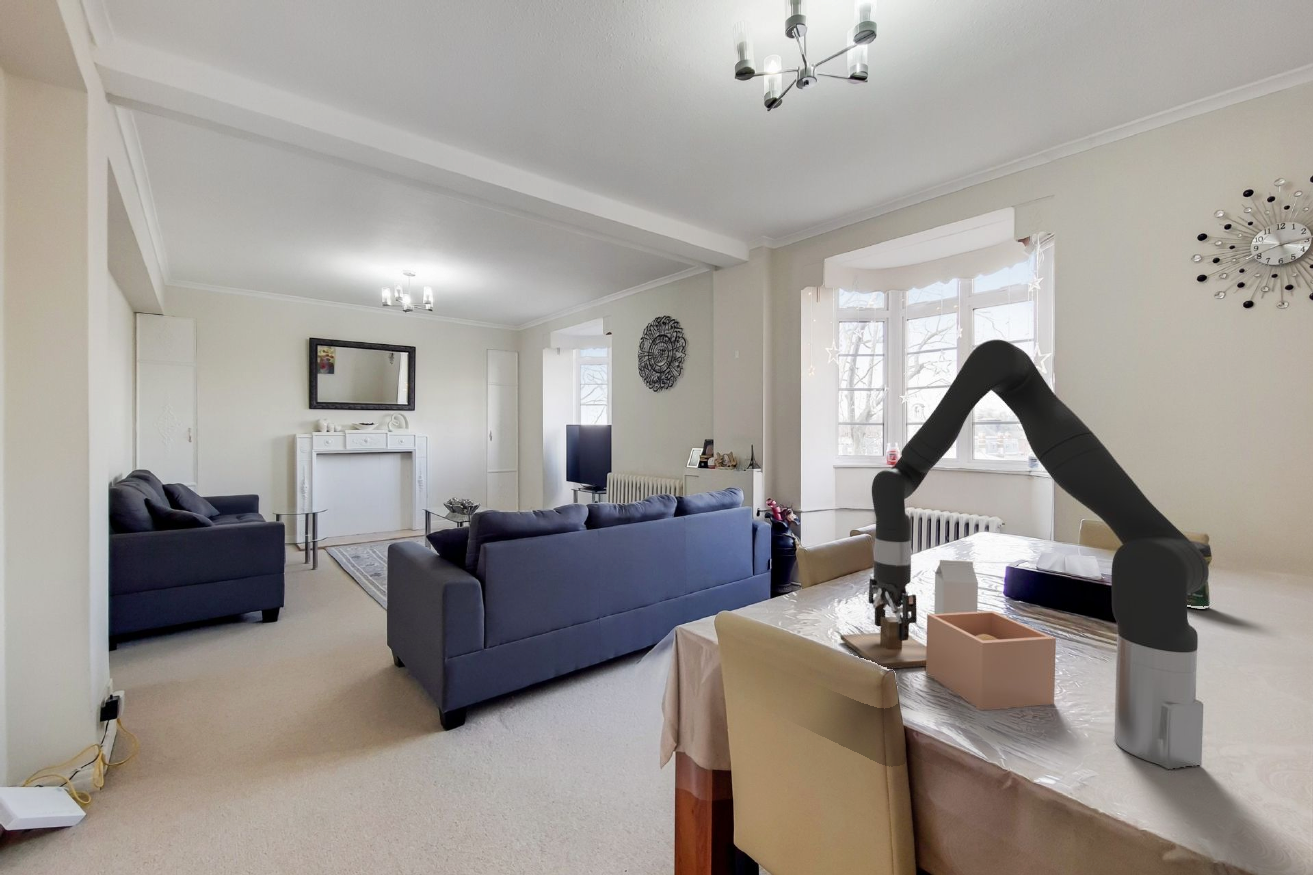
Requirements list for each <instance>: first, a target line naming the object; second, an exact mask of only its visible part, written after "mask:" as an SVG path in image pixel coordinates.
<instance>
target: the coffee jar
mask: <svg viewBox="0 0 1313 875" xmlns="http://www.w3.org/2000/svg"><path fill="white" fill-rule="evenodd" d="M1190 541H1191V542H1192V543H1193V544H1194V545H1195V546H1196V547H1197V548H1198V549H1199V551H1200V552H1201V553H1202V554H1203V556H1204V558H1205V560H1206V562H1207V565H1208V567H1209V566H1210V564H1211V562H1212V560H1213V556H1212V550H1211V549H1212V548H1211V546H1210V544H1209V543H1207V542H1206V543H1205V542H1200V541H1194V540H1190ZM1209 585H1210V584H1209V579H1208V580H1207V582H1206V583H1205V585H1204V586H1203V587H1202V588H1201V589H1199V590H1198V591H1195V592H1193V593H1190V594H1187V605H1191V606H1203V607H1204V606H1209V605H1210V603H1211V602H1210V601H1211V600H1210V599H1211V598H1210V588H1209ZM1209 607H1210V606H1209Z"/></svg>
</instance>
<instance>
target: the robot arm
mask: <svg viewBox="0 0 1313 875" xmlns="http://www.w3.org/2000/svg"><path fill="white" fill-rule="evenodd" d="M989 392H992V393H994V394H995V395H996V396H998V397H999V398H1000V399H1001V401H1003V402H1004V403H1005V405H1006V406H1007V407H1008V408H1009V409H1010V410H1011V411H1012V413H1013V414H1014V415H1015V417H1016V418H1017V419H1018V421H1019V423H1020V425H1021V427H1022V429H1023V432H1024V435H1025V437H1026V439H1027V440H1026V441H1027V443H1028V444H1029V447H1030V449H1031V450H1032V452H1033V454H1034V455H1035V457H1036V459H1037V460H1038V462H1040V464H1041V465H1042V466H1043V468H1044V469H1045V470H1046V472H1047V473H1048V475H1049V476H1050V477H1051V478H1052V480H1053V481H1054V482H1055V483H1056V484H1057V485H1058V486H1059V487H1060V488H1061V489H1062V490H1063V491H1064V492H1066V493H1067V494H1068V495H1069V496H1070V497H1072V498H1073V499H1075V500H1076V501H1077V502H1079V503H1080V504H1081V505H1083V507H1084V506H1085V508H1087V509H1088V510H1090V511H1091V512H1092V513H1093V514H1095V515H1096V516H1097V517H1099V518H1100V519H1101V520H1102V521H1103V522H1104V523H1105V524H1106V525H1107V526H1108V527H1109V528H1110V530H1111V531H1112V532H1113V534H1115V536H1116V537H1117V538H1118V540H1119V541H1120V542H1121V545H1120V546H1119V547H1118V548H1117V549H1116V551H1115V553H1114V556H1113V558H1112V564H1111V577H1110V578H1111V580H1110V581H1111V609H1112V614H1113V617H1114V620H1115V621H1116V624H1117V634H1116V638H1117V639H1116V667H1115V668H1116V669H1115V670H1116V671H1115V701H1114V704H1115V705H1114V736H1113V737H1114V741H1115V743H1116V745H1117V746H1119V747H1120V748H1121V749H1123V750H1124V751H1126V752H1127V753H1129V754H1131V755H1133V756H1135V757H1137V758H1140V759H1141V760H1145V761H1147V762H1150V763H1153V764H1157V765H1159V766H1161V767H1163V768H1165V769H1167V770H1174V769H1173V768H1175V769H1181V768H1180V767H1184V766H1192V767H1198V766H1197V765H1201V766H1202V764H1203V763H1202V761H1203V731H1204V730H1203V728H1204V727H1203V726H1204V703H1203V702H1202V701H1200V700H1198V699H1197V670H1198V669H1197V667H1198V666H1197V665H1198V647H1199V646H1198V645H1199V644H1198V641H1199V639H1198V638H1199V637H1198V631H1197V630H1196V628H1194V627H1193V626H1191V624H1190V623H1189V619H1188V618H1189V617H1188V608H1187V594H1190V593H1193V592H1195V591H1198V590H1199V589H1201V588H1202V587H1203V586H1204V585H1205V583H1206V582H1207V580H1208V581H1209V575H1210V574H1209V572H1210V569H1209V566H1208V565H1207V562H1206V560H1205V558H1204V556H1203V554H1202V553H1201V552H1200V551H1199V549H1198V548H1197V547H1196V546H1195V545H1194V544H1193V543H1192V542H1191V541H1192V540H1191V539H1189V538H1188V537H1187V536H1186V535H1185V534H1184V533H1183V532H1182V531H1180V530H1179V529H1178V528H1177V527H1176V525H1174V524H1173V523H1172V522H1171V521H1170V520H1169V519H1168V518H1167V517H1166V516H1165V515H1164V514H1163V513H1162V512H1160V511H1159V510H1158V508H1156V506H1154V504H1153V503H1152V502H1151V501H1150V500H1149V499H1148V498H1147V496H1146V495H1145V494H1144V493H1143V491H1142V490H1141V489H1140V488H1139V486H1138V485H1137V484H1136V483H1135V482H1134V480H1133V479H1132V478H1131V477H1130V476H1129V474H1128V473H1127V472H1126V471H1125V469H1124V468H1123V467H1122V466H1121V465H1120V464H1119V463H1118V461H1117V460H1116V459H1115V458H1114V456H1113V455H1112V454H1111V452H1110V451H1109V450H1108V448H1107V447H1106V446H1105V444H1103V442H1101V440H1099V438H1098V437H1097V436H1096V435H1095V433H1093V431H1092V430H1091V429H1090V428H1089V427H1088V426H1087V425H1086V424H1085V423H1084V422H1083V421H1082V420H1081V419H1080V417H1079V416H1077V414H1076V413H1075V412H1073V410H1071V408H1070V407H1069V406H1067V405H1066V404H1065V403H1064V402H1063V401H1062V400H1060V398H1059V397H1057V395H1056V394H1055V393H1054V392H1053V390H1052V389H1051V388H1050V386H1049V384H1048V383H1047V382H1046V380H1045V379H1044V377H1043V376H1042V374H1041V372H1040V371H1039V370H1038V367H1037V366H1036V365H1035V363H1034V362H1033V360H1032V358H1031V357H1030V356H1029V354H1028V353H1027V352H1026V351H1024V350H1023V349H1021V348H1020V347H1018V346H1016V345H1014V344H1013V343H1011V342H1008V341H1006V340H1004V339H1000V338H997V339H995V338H994V339H989V340H986V341H984V342H981V343H980V344H978V345H977V346H976V347H975V348H974V349H973V350H972V352H971V353H970V354H969V356H968V357H967V358H966V360H965V362H964V364H962V366H961V368H960V369H959V371H958V373H957V375H956V376H955V378H954V379H953V381H952V383H951V384H950V386H949V388H948V389H947V390H946V392H945V394H943V395H944V396H943V397H942V398H941V400H940V401H939V403H938V404H937V406H936V407H935V409H934V410H933V411H932V412H931V414H930V416H929V417H928V418H927V419H926V421H925V422H924V424H922V425H921V427H920V428H919V429H918V430H917V431H916V432H915V433H914V435H913V436H912V437H911V438H910V439H909V441H908V442H907V443H906V444H905V445H904V447H903V448H902V450H901V452H900V454H901V455H900V458H899V459H898V460H897V461H896V463H895V464H894V465H893V466H892V467H891V468H890V469H884V470H881V471H879V472H878V473H877V474H876V475H875V476H874V478H873V481H872V485H871V498H872V503H873V504H872V505H873V510H874V515H875V540H874V546H873V577H870V578H869V583H868V585H869V586H868V603H869V604H870V605H872V608H873V609H874V625H875V626H876V627H881V617H886V609H885V608H886V607H887V606H888V607H889V608H891V612H892V613H893V614H894V615H895V617H896V618H897V621H898V622H897V639H898V640H900V641H905V640H908V637H909V636H910V634H909V633H910V624H916V623H917V622H918V621H917V615H918V614H917V595H916V594H915V593H908V592H907V589H906V587H907V585H908V584H910V583H911V581H912V580H911V579H912V577H911V576H912V575H911V574H912V572H911V571H912V547H911V546H912V545H911V519H910V516H909V515H908V514H907V513H906V506H905V499H907V498H909V497H910V496H911V495H912V494H914V493H915V492H916V490H917V489H918V488H919V487H920V485H922V482H923V481H924V480H925V478H926V477H927V475H928V473H929V471H930V470H931V469H932V468H933V467H935V465H937V463H938V462H939V461H940V460H941V459H942V458H943V457H944V456H945V454H946V453H948V452H949V450H950V449H951V448H952V447H953V445H954V443H955V442H956V440H957V438H958V437H959V435H960V433H961V431H962V429H963V426H964V424H965V422H966V421H967V419H968V416H969V415H970V413H971V412H972V410H973V409H974V408H975V406H976V405H977V404H978V403H979V401H981V400H982V399H983V398H984V397H985V396H986V395H987V394H988V393H989ZM875 594H876V595H875ZM874 596H875V597H874ZM901 606H902V607H901ZM901 613H902V614H901ZM1194 765H1195V766H1194ZM1184 768H1185V767H1184Z"/></svg>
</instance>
